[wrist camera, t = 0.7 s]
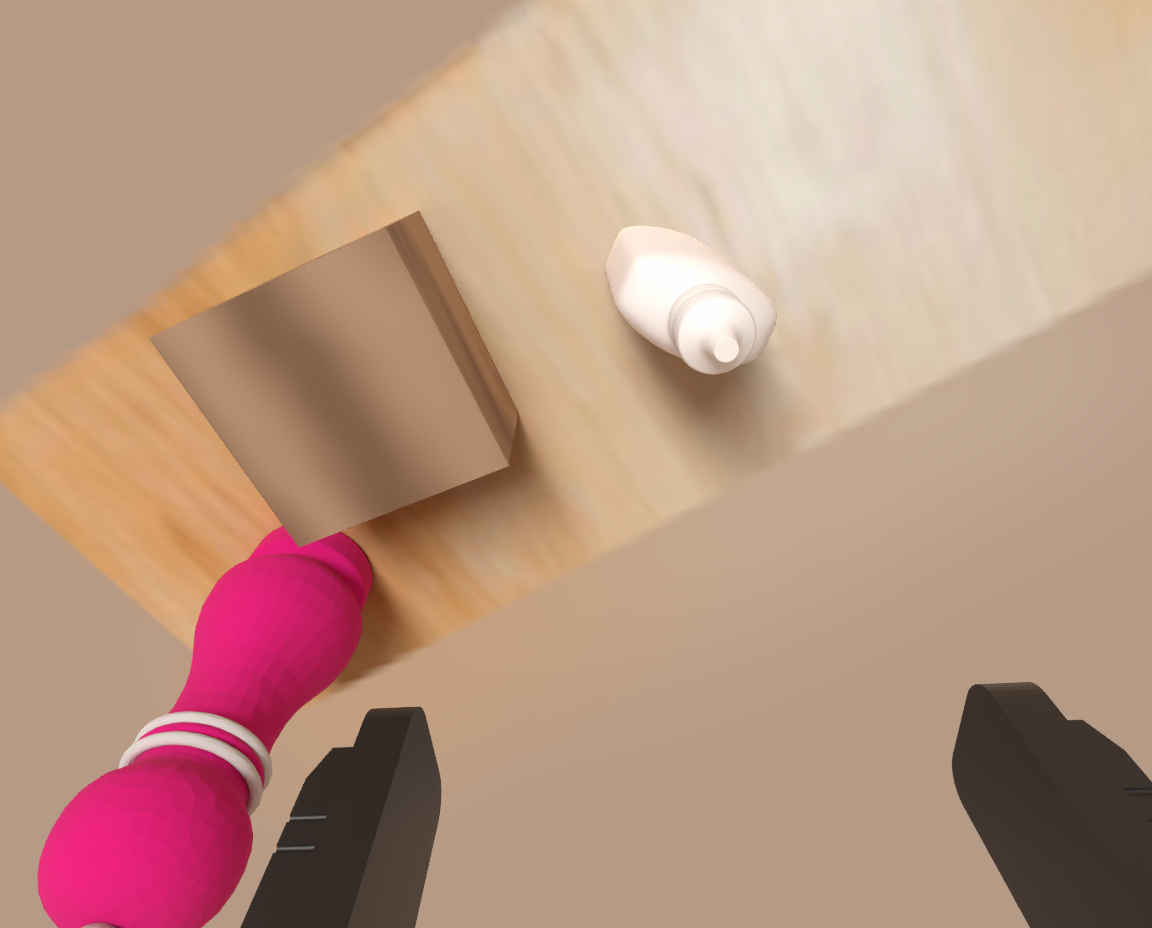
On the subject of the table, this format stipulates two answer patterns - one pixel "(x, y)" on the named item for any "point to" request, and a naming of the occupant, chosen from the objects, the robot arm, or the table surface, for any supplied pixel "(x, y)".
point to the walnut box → (349, 383)
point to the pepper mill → (208, 746)
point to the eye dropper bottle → (688, 299)
